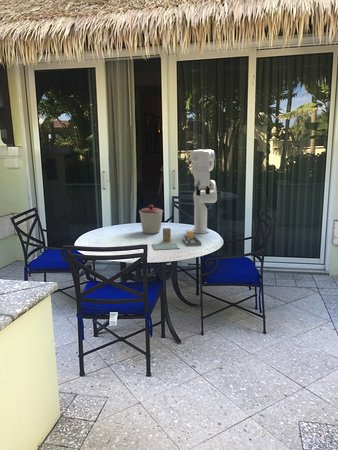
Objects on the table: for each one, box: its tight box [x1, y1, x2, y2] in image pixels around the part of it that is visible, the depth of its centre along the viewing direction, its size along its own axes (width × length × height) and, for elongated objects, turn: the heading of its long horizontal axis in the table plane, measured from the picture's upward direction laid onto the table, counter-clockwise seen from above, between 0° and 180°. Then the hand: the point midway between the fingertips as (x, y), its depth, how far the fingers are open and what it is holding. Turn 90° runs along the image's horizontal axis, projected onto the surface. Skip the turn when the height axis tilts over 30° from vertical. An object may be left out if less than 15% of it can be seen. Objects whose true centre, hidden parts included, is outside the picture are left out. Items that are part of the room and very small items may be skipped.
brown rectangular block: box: [162, 227, 172, 243], centre depth 245 cm, size 5×5×9 cm
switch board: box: [181, 234, 202, 247], centre depth 243 cm, size 14×10×4 cm
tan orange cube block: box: [186, 229, 195, 239], centre depth 247 cm, size 4×4×5 cm
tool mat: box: [151, 242, 180, 251], centre depth 233 cm, size 12×16×1 cm
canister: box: [138, 204, 164, 235], centre depth 271 cm, size 18×18×21 cm
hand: (203, 194), depth 245 cm, fingers open, 9 cm apart
